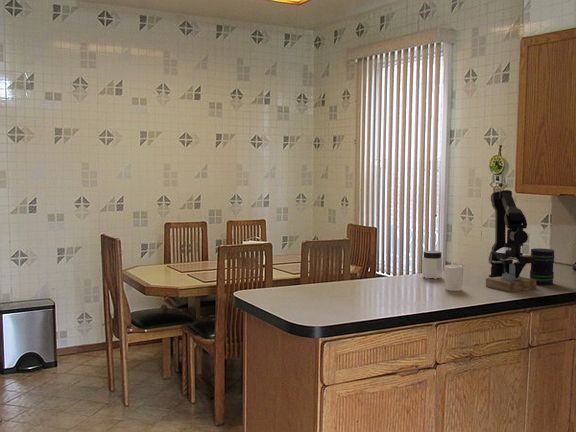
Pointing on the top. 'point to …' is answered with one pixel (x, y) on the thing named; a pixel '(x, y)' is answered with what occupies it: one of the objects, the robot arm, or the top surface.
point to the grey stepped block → (510, 274)
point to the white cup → (453, 277)
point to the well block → (511, 284)
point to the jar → (432, 264)
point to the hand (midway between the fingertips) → (512, 277)
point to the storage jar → (542, 266)
